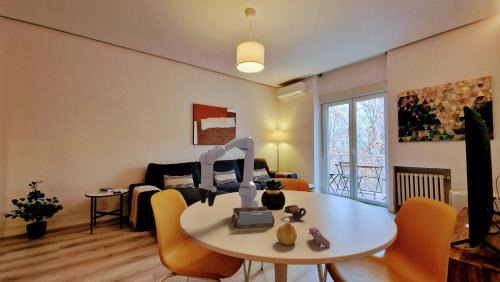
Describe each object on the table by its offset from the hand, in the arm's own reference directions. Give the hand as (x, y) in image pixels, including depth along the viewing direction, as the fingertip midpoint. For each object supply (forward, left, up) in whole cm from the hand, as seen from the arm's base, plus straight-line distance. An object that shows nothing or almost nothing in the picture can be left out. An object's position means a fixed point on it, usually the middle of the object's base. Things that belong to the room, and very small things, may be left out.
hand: (207, 204), depth 114 cm
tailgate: (-16, +18, -8) cm, 25 cm away
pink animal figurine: (-24, +47, -10) cm, 54 cm away
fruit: (-14, +39, -10) cm, 43 cm away
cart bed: (-19, +12, -10) cm, 25 cm away
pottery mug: (-41, +21, -10) cm, 48 cm away
